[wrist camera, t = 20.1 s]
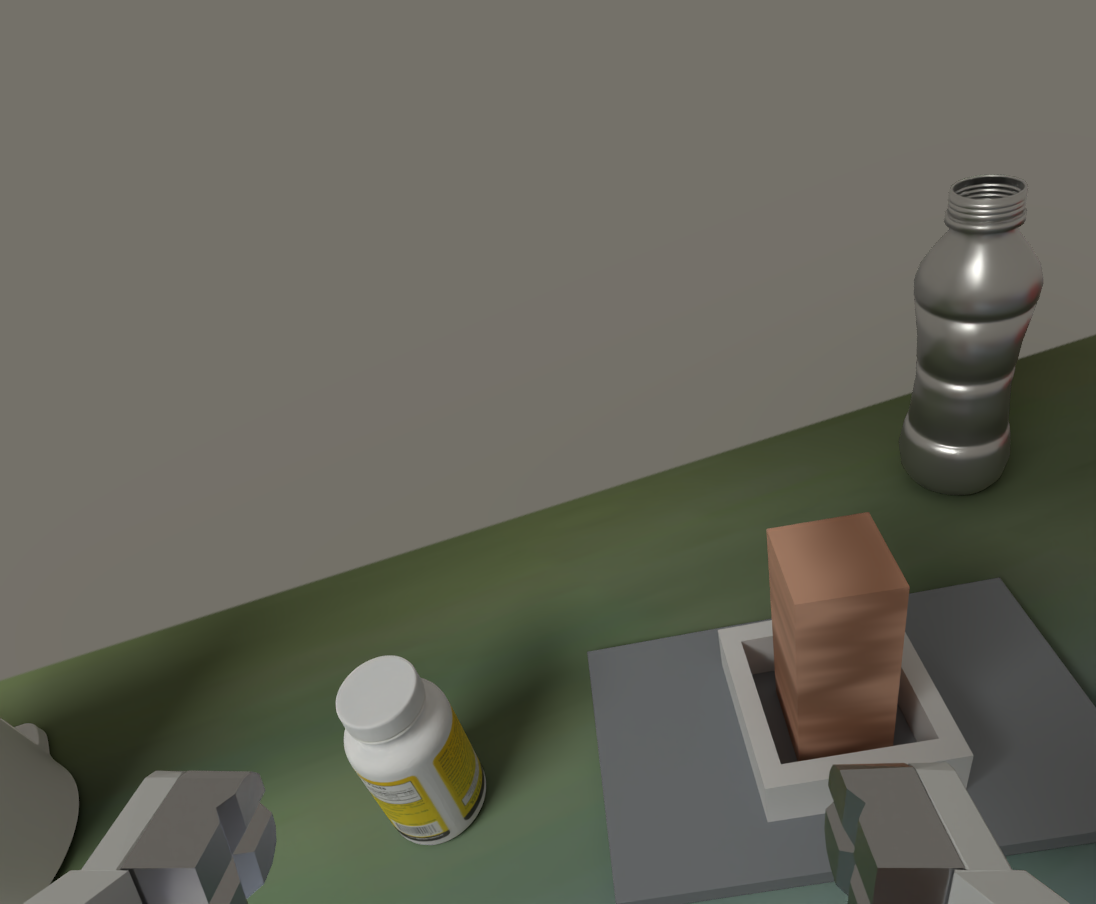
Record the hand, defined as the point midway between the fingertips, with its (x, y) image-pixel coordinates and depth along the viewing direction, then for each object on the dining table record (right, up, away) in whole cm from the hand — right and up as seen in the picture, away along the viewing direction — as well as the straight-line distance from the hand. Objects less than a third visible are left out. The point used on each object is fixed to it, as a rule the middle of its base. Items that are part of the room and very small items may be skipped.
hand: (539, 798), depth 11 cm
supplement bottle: (-6, -14, +30) cm, 33 cm away
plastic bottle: (+28, +3, +41) cm, 49 cm away
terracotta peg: (+15, -9, +27) cm, 32 cm away
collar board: (+15, -10, +28) cm, 33 cm away
